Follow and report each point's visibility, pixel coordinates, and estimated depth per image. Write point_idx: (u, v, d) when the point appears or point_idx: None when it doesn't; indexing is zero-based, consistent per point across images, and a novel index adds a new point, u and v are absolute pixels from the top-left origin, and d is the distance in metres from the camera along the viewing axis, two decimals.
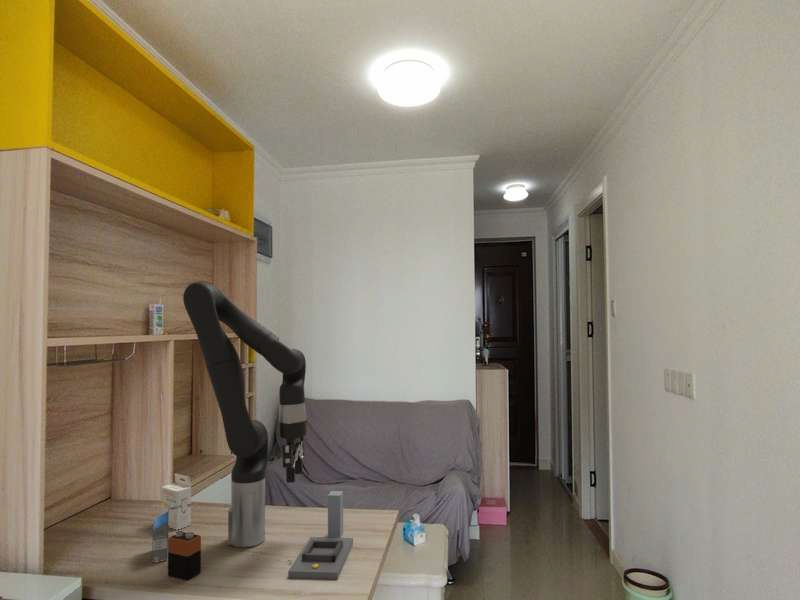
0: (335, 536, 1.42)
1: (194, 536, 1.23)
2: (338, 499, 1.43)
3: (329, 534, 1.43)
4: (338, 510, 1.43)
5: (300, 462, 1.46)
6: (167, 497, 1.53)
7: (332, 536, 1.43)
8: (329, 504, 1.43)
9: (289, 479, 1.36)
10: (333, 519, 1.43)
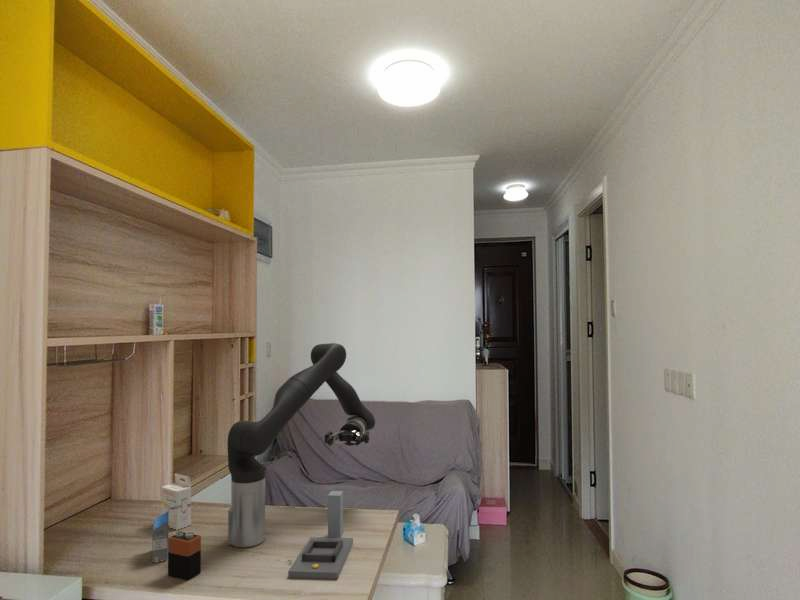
0: (335, 536, 1.42)
1: (194, 536, 1.23)
2: (338, 499, 1.43)
3: (329, 534, 1.43)
4: (338, 510, 1.43)
5: (333, 442, 1.61)
6: (167, 497, 1.53)
7: (332, 536, 1.43)
8: (329, 504, 1.43)
9: (360, 441, 1.57)
10: (333, 519, 1.43)
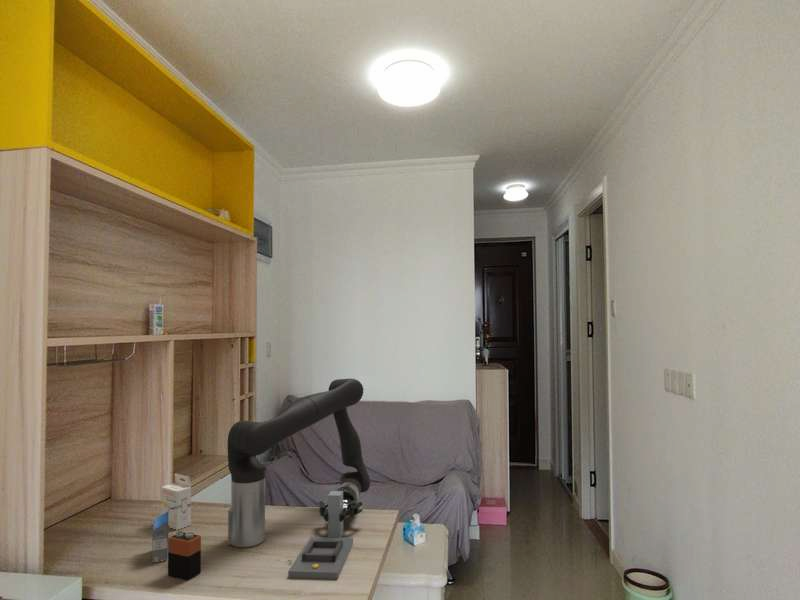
0: (336, 536, 1.42)
1: (194, 536, 1.23)
2: (338, 499, 1.43)
3: (329, 534, 1.43)
4: (338, 510, 1.43)
5: None
6: (167, 497, 1.53)
7: (332, 536, 1.43)
8: (329, 504, 1.43)
9: (344, 516, 1.43)
10: (333, 519, 1.43)
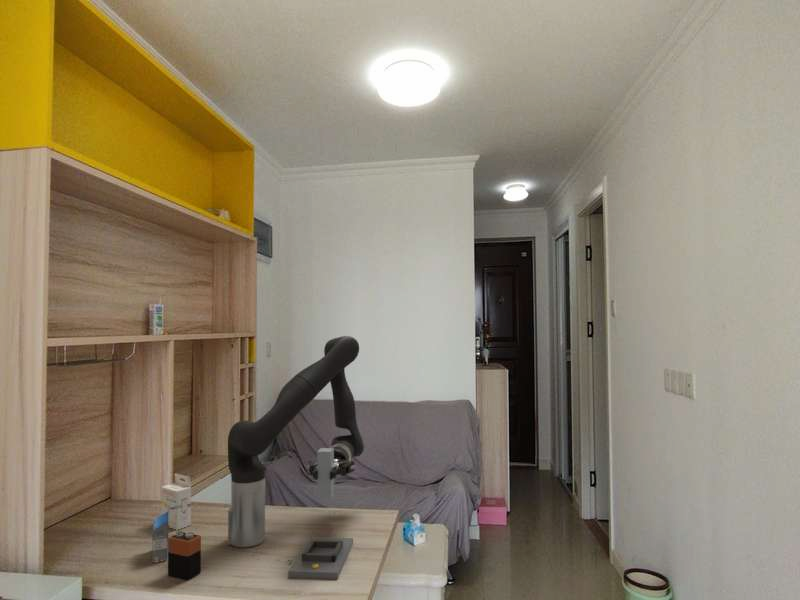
0: (326, 495, 1.32)
1: (194, 536, 1.23)
2: (328, 455, 1.33)
3: (319, 493, 1.32)
4: (328, 467, 1.32)
5: None
6: (167, 497, 1.53)
7: (322, 495, 1.32)
8: (319, 461, 1.33)
9: (335, 474, 1.32)
10: (323, 477, 1.32)
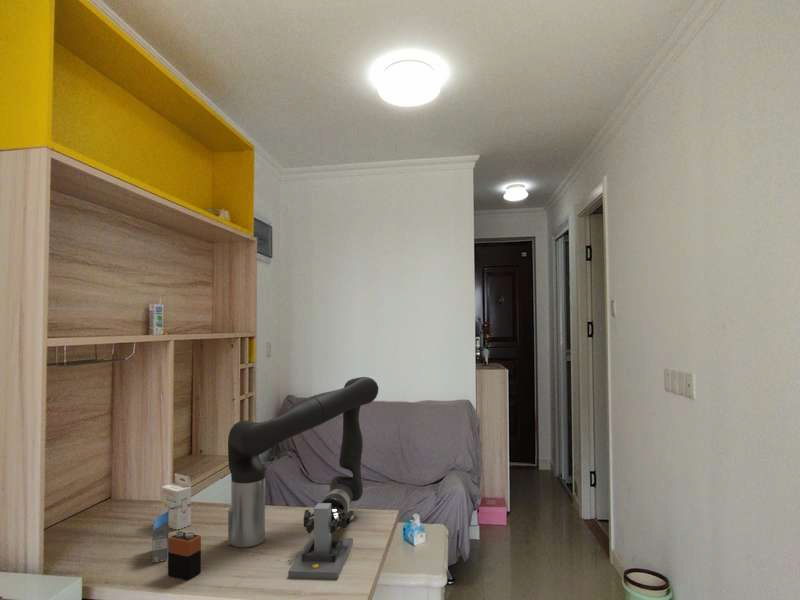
0: None
1: (194, 536, 1.23)
2: (326, 513, 1.28)
3: (315, 552, 1.28)
4: (326, 525, 1.28)
5: (313, 527, 1.31)
6: (167, 497, 1.53)
7: None
8: (316, 518, 1.28)
9: (336, 528, 1.28)
10: (320, 535, 1.28)
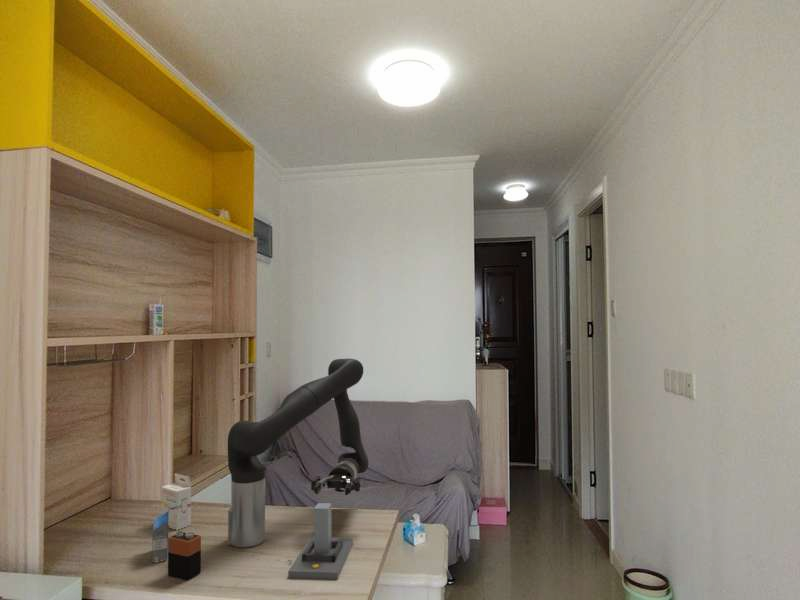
0: None
1: (194, 536, 1.23)
2: (326, 513, 1.28)
3: (315, 552, 1.28)
4: (326, 525, 1.28)
5: (320, 489, 1.45)
6: (167, 497, 1.53)
7: None
8: (316, 518, 1.28)
9: (350, 490, 1.42)
10: (320, 535, 1.28)
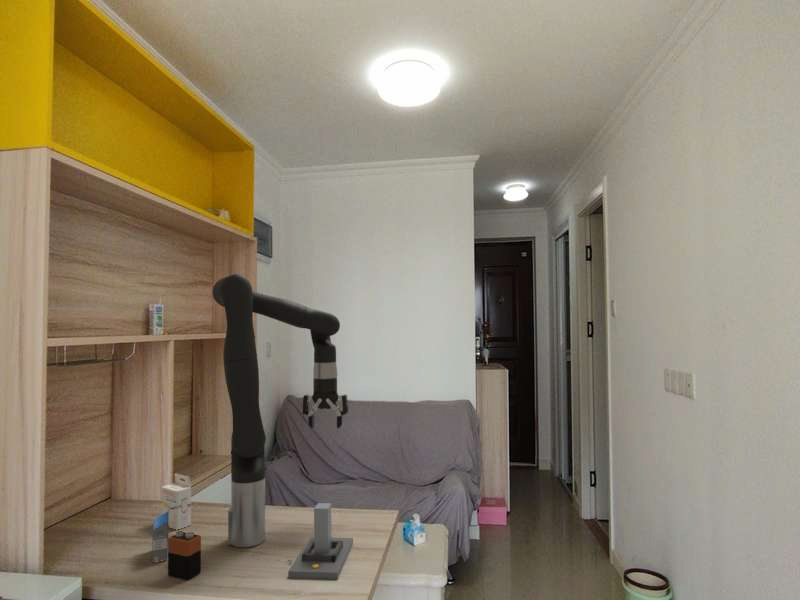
0: None
1: (194, 536, 1.23)
2: (326, 513, 1.28)
3: (315, 552, 1.28)
4: (326, 525, 1.28)
5: (313, 416, 1.61)
6: (167, 497, 1.53)
7: None
8: (316, 518, 1.28)
9: (341, 424, 1.59)
10: (320, 535, 1.28)
